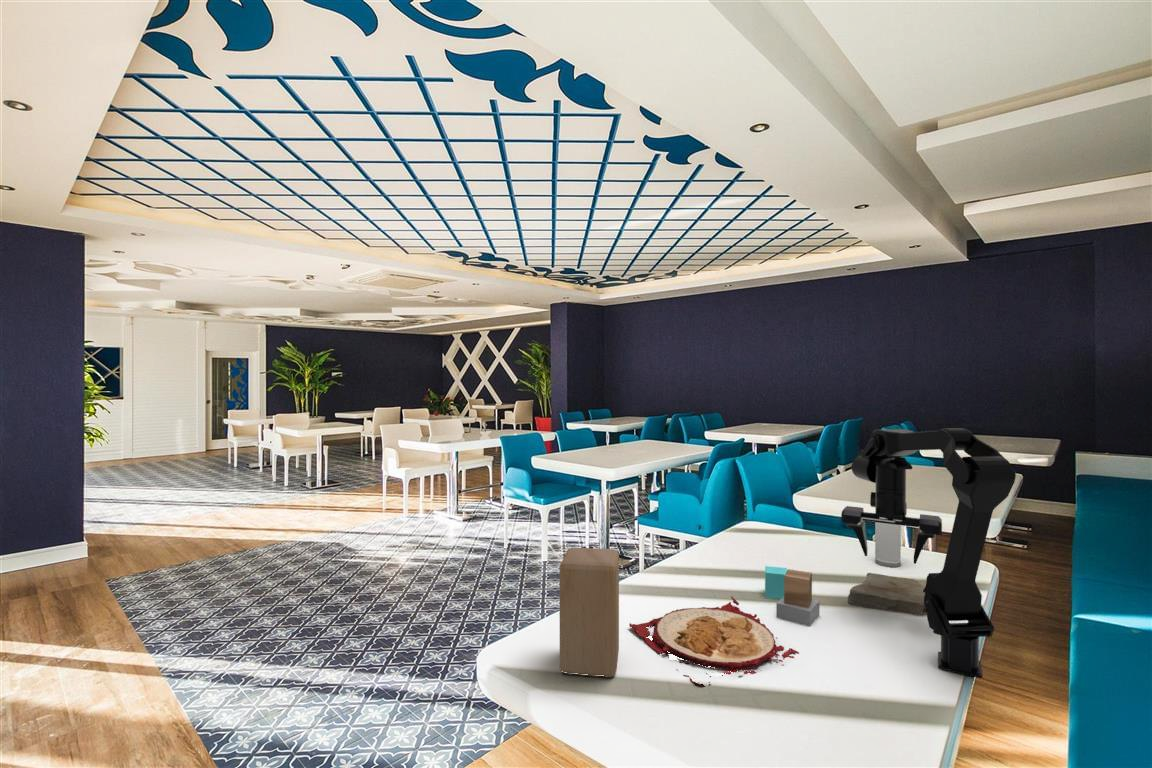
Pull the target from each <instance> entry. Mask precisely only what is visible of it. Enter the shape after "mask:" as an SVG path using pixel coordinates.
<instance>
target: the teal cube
mask: <svg viewBox="0 0 1152 768" xmlns="http://www.w3.org/2000/svg"><path fill="white" fill-rule="evenodd" d="M787 570H788V569H787V567H781V566H780V567H778V566H771V565H770V566H768V565H765V566H764V594H765V596H764V597H765V598H766V599H773V600H775V599H776V600H780V599H782V598H783V597H784V575H785V574H786V572H787Z"/></svg>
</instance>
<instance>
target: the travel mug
mask: <svg viewBox="0 0 1152 768" xmlns="http://www.w3.org/2000/svg"><path fill="white" fill-rule="evenodd" d="M880 518H881V519H885V518H882V517H880ZM895 521H900V520H895ZM874 524H875V525H874V526H875V529H874V530H875V531H874V532H875V535H874V536H875V537H874V538H875V539H874V540H875V541H874V545H875V546H874V550H875V551H874V561H875V563H876V564H877V565H879V566H883V567H886V568H898V567H900V566H902V565H901V563H902V560H901V559H902V558H901V557H902V555H901V553H902V552H901V549H902V545H901V543H902V540H901V539H902V525H895V524H887V523H879V522H874Z"/></svg>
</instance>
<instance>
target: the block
mask: <svg viewBox="0 0 1152 768" xmlns="http://www.w3.org/2000/svg"><path fill="white" fill-rule="evenodd" d="M619 650H620V554H619V551H618V550H616V549H614V548H598V547H597V548H593V547H569V548H567V550H566V552H565V554H564V556H563V558H562V560H561V562H560V564H559V669H560V672H561V671H563V672H567V673H578V674H588V675H604V676H613V677H615V675H616V672H617V665H618V659H619V658H618V657H619Z"/></svg>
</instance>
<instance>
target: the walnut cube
mask: <svg viewBox="0 0 1152 768" xmlns="http://www.w3.org/2000/svg"><path fill="white" fill-rule="evenodd" d="M812 599H813V572H810V571H802V570H798V569H797V570H795V569H790V568H788V569H787V572H786V574H785V575H784V603H786V604H791V605H796V606H802V607H807V608H809V606H810V603H811V601H812Z"/></svg>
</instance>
